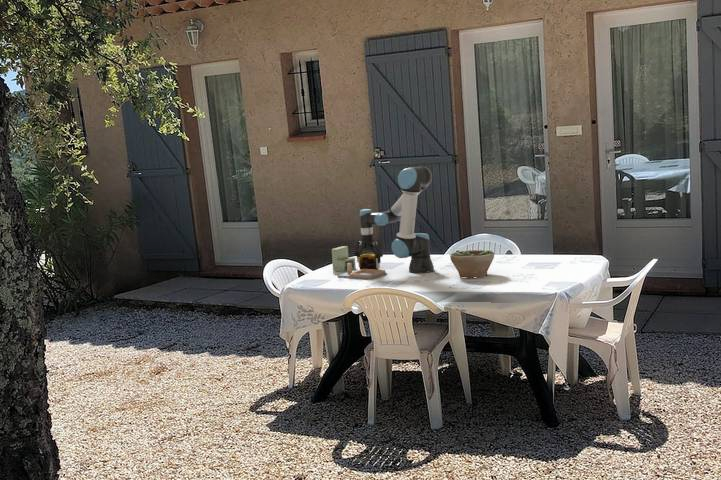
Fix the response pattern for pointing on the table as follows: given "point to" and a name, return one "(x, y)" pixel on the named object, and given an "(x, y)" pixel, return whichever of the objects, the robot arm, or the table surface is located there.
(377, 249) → the robot arm
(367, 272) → the pin board
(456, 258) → the planter
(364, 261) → the candle
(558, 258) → the table surface
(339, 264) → the feeder
